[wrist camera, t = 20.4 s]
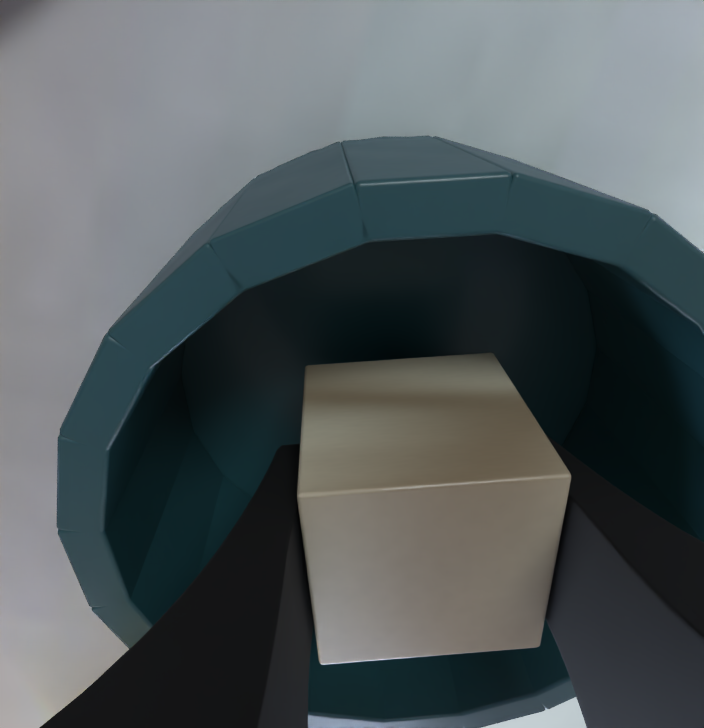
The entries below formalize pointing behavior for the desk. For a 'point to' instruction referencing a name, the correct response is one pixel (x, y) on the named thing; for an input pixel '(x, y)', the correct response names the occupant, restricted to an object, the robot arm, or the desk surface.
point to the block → (425, 509)
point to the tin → (372, 343)
